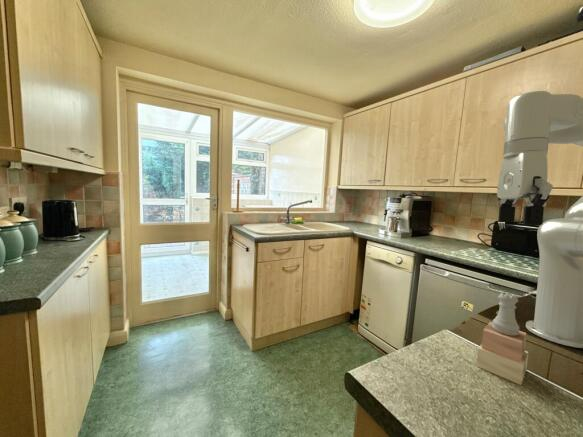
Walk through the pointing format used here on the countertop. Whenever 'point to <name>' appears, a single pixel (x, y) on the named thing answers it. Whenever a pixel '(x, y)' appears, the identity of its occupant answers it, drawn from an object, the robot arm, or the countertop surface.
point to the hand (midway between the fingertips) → (518, 223)
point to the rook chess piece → (506, 315)
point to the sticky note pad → (503, 354)
